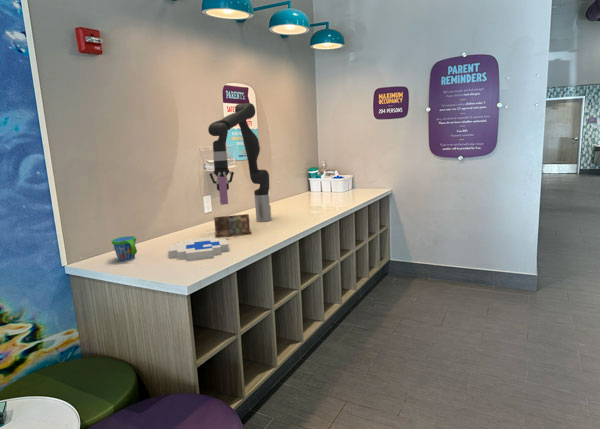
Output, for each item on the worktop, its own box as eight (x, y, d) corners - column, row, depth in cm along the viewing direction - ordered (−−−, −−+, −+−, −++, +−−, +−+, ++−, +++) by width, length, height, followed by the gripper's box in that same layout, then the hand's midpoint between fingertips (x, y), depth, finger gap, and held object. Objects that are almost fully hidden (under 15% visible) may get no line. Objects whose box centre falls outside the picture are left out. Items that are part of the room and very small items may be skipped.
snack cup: (108, 259, 202) (105, 238, 200) (129, 254, 209) (127, 234, 207) (122, 264, 191) (120, 243, 189) (144, 259, 199) (142, 238, 197)
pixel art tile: (224, 235, 223) (230, 248, 196) (225, 242, 224) (230, 256, 197) (169, 241, 216) (167, 255, 189) (170, 248, 217) (168, 264, 190)
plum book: (227, 201, 242) (225, 175, 239) (228, 204, 232) (226, 177, 229) (220, 202, 241) (218, 176, 238) (220, 204, 231) (218, 177, 228)
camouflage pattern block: (249, 229, 249) (248, 214, 248) (251, 234, 238) (250, 217, 236) (215, 233, 246) (214, 217, 244) (215, 237, 234) (214, 221, 232)
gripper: (233, 158, 237) (235, 188, 240) (207, 160, 234) (210, 190, 237) (233, 159, 230) (236, 190, 233) (207, 160, 227) (210, 192, 230)
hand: (223, 190), depth 235 cm, fingers closed on plum book, 4 cm apart
